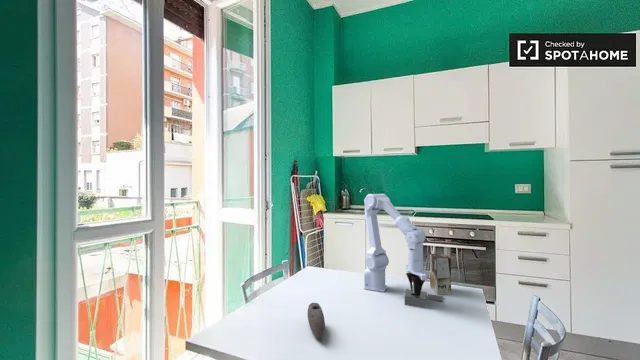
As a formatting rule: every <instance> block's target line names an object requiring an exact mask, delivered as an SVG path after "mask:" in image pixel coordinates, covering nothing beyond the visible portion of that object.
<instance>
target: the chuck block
mask: <svg viewBox="0 0 640 360" xmlns="http://www.w3.org/2000/svg"><path fill="white" fill-rule="evenodd" d="M427 296H428V293H427V291H423V290H421V293H420V294H419V296H415V295H412V290H411V289H406V291H405V294H404V306H409V307H417V308H423V309H426V308H427V302H428V300H427Z"/></svg>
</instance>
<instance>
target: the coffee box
mask: <svg viewBox="0 0 640 360" xmlns="http://www.w3.org/2000/svg"><path fill="white" fill-rule="evenodd" d="M429 276H430V277H429V279H430V280H429V282H430V283H429V284H430V285H429V288H430V289H431V290H432V291H434V293H435V294H436V295H452V257H449V256H448V255H446V254H444V253H439V252H438V253H429Z"/></svg>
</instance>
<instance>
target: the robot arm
mask: <svg viewBox="0 0 640 360" xmlns="http://www.w3.org/2000/svg"><path fill="white" fill-rule="evenodd" d="M363 201H364V202H363V203H364V219H365V225H366V230H367V232H366V233H367V237H368V245H369V249H368V250H367V252H366V253H365V254H366V259H365V264H366V266H367V267H366V268H365V269H364V273H363V274H364V276H363V277H364V279H363V280H364V281H363V282H364V283H363V285H364V286H363V287H364V288H363V289H364V290H369V291H375V292H383V293H385V292H386V291H387V288H388V285H387V284H386V269H387V266H389V263H390V261H389V257H388V254H387V252H386V250H385V249H384V248H383V247H382V242H381V235H380V227H379V222H378V221H379V220H378V216H377V215H378V213H379V212H380V210H384V211H385V213H387V214H388V215H389V216H390V217H391V218H392V219H393V220H394V221H395V226H396V227H397V228H398V229H399V231H401V233H402V235H404V238H405V241H406V243H407V248H408V252H407V253H408V258H407V259H408V260H407V261H408V264H405V272H406V273H405V276H406V277H407V279H408V282H409V285H410V290H412V281H413V285H414V292H415V294H420V293H421V291H422V288H423V285H424V283H425V282H426V281H427V280H428V278H427V277H428V276H427V274H426V273H425V271H424V242H425V241H426V238H427V237H426V236H427V235H426V233H425V232H424V230H423V229H421V228H418V227H417V226H416V225H415V224H414V223H412V221H411V220H410V217H408V216H406V215H402V214H401V213H400V212H399V211H398V210H397V208H396V207H395V206H394V205H393V203H392V202H391V200H390V198H389V197H388V196H387V195H386V194H385V193H368V194H367V195H366V196H365V198H364V199H363Z"/></svg>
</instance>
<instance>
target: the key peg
mask: <svg viewBox="0 0 640 360" xmlns="http://www.w3.org/2000/svg"><path fill="white" fill-rule="evenodd" d="M412 295H415V296H419V294H415V292H414V285H413V281H412Z"/></svg>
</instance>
